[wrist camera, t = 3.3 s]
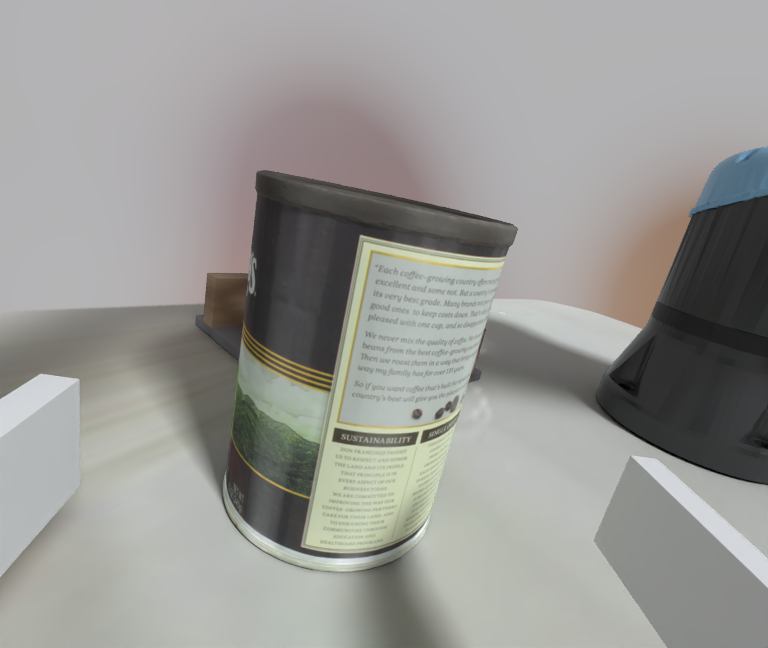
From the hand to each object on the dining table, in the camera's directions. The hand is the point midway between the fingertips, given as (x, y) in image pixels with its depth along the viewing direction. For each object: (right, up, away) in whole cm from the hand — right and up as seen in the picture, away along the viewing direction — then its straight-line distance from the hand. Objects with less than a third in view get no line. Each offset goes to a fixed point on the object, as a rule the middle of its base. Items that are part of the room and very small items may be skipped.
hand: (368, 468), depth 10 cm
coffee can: (-2, -5, +11) cm, 12 cm away
